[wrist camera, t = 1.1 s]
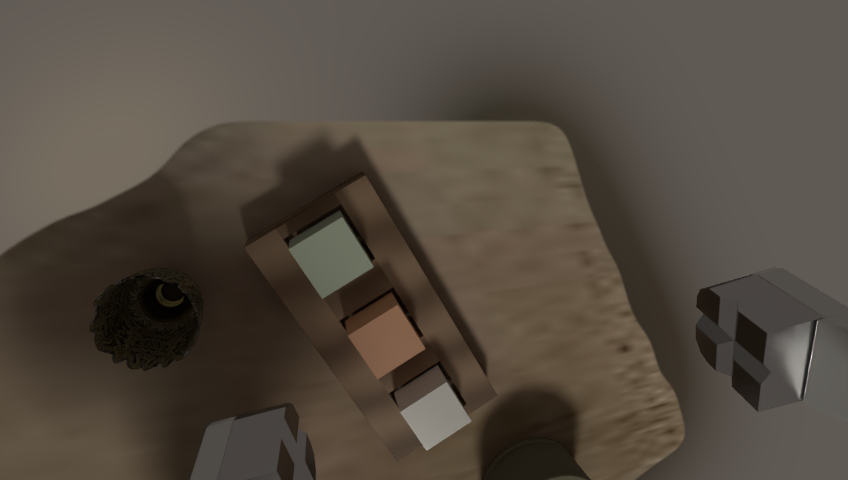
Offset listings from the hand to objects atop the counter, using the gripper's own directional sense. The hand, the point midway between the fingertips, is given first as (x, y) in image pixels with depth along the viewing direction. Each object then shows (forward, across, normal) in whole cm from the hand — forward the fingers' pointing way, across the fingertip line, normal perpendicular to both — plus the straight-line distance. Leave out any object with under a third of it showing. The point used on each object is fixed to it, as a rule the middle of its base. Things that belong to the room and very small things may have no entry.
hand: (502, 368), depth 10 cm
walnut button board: (+34, -6, -21) cm, 41 cm away
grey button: (+30, -3, -29) cm, 42 cm away
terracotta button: (+32, -5, -20) cm, 38 cm away
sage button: (+33, -8, -12) cm, 36 cm away
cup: (+34, -22, -12) cm, 43 cm away
